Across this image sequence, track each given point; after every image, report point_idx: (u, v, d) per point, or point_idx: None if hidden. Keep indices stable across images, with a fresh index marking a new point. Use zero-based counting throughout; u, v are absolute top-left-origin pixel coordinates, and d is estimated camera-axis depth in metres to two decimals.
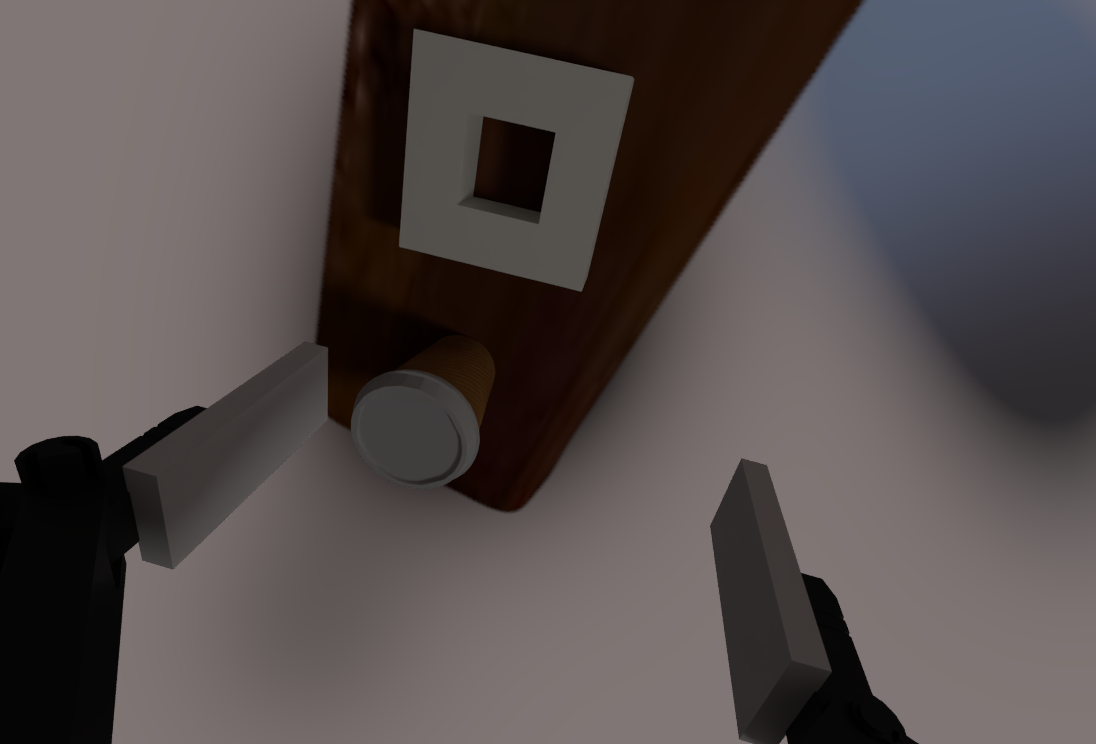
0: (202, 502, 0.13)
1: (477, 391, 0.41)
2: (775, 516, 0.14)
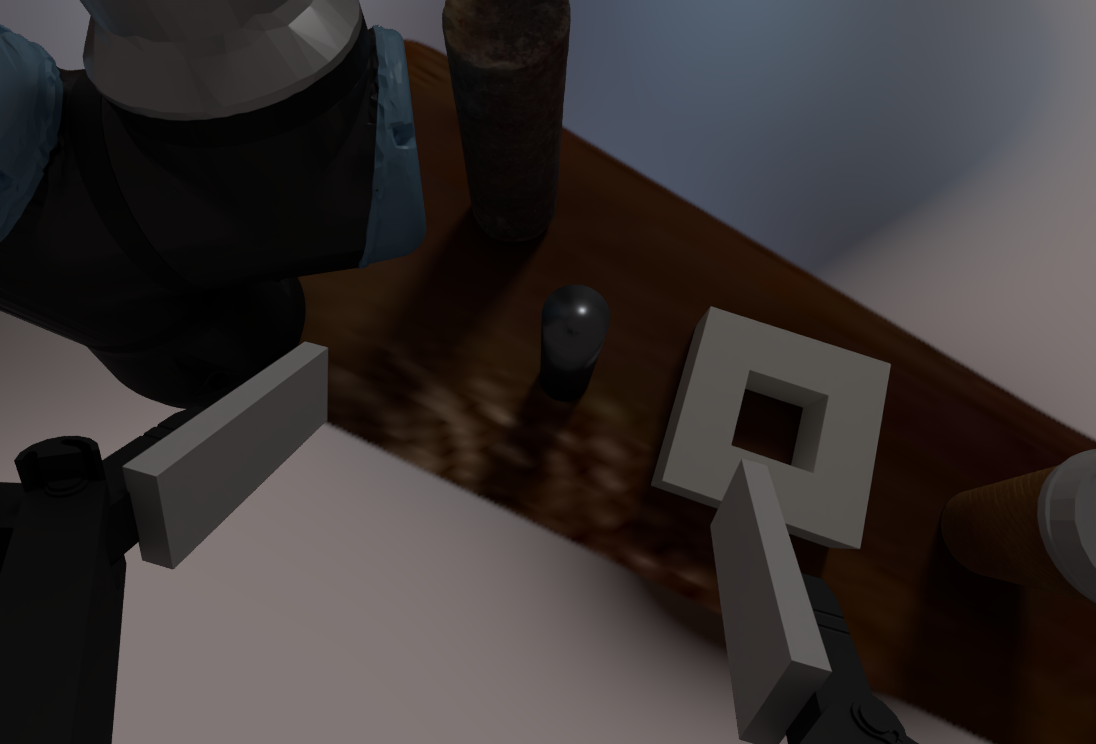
0: (202, 502, 0.13)
1: None
2: (775, 516, 0.14)
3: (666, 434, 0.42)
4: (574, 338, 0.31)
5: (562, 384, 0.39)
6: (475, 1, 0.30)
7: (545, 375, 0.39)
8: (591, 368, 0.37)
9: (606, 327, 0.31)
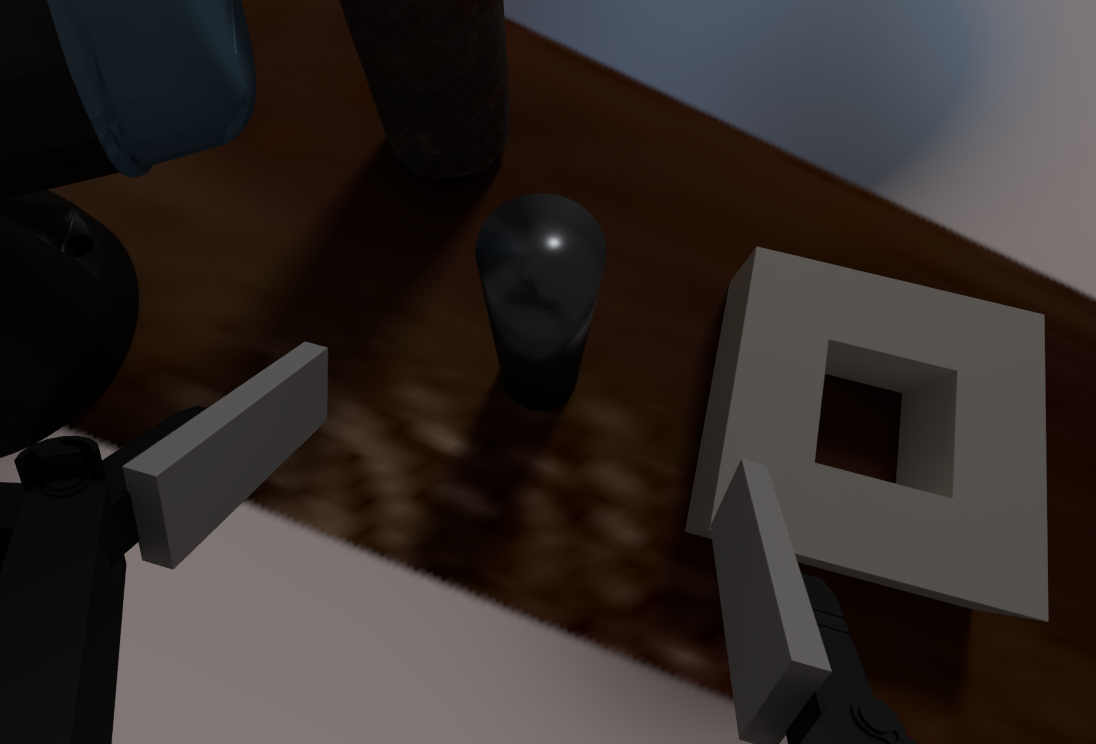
0: (202, 502, 0.13)
1: None
2: (775, 516, 0.14)
3: (702, 449, 0.27)
4: (540, 291, 0.16)
5: (533, 383, 0.23)
6: None
7: (505, 371, 0.24)
8: (578, 353, 0.22)
9: (600, 267, 0.16)
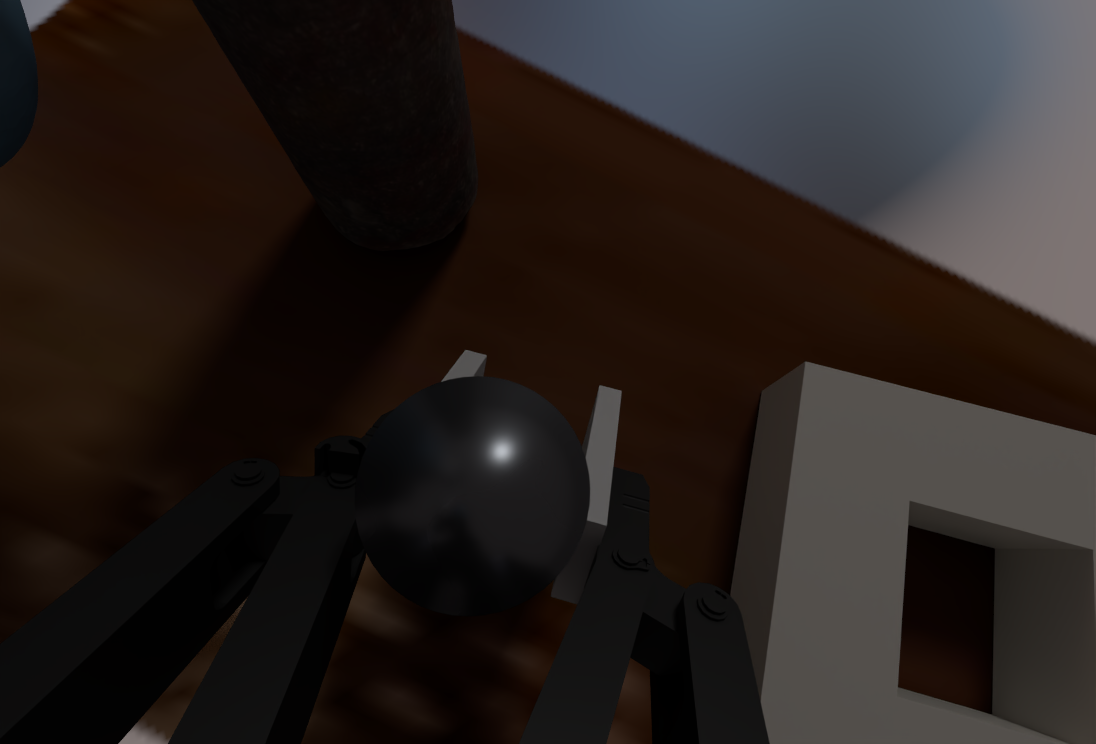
0: None
1: None
2: (610, 425, 0.16)
3: None
4: (468, 576, 0.09)
5: None
6: None
7: None
8: None
9: (579, 524, 0.09)
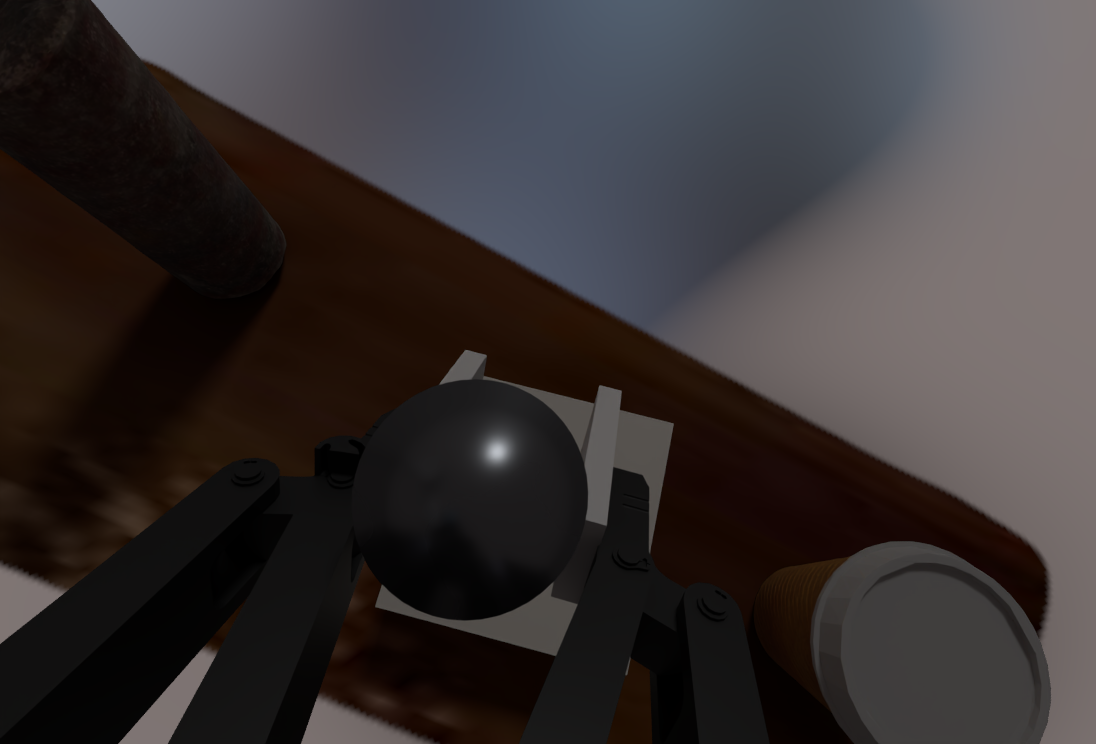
0: None
1: (833, 561, 0.28)
2: (610, 425, 0.16)
3: None
4: (465, 580, 0.09)
5: None
6: None
7: None
8: None
9: (577, 528, 0.09)
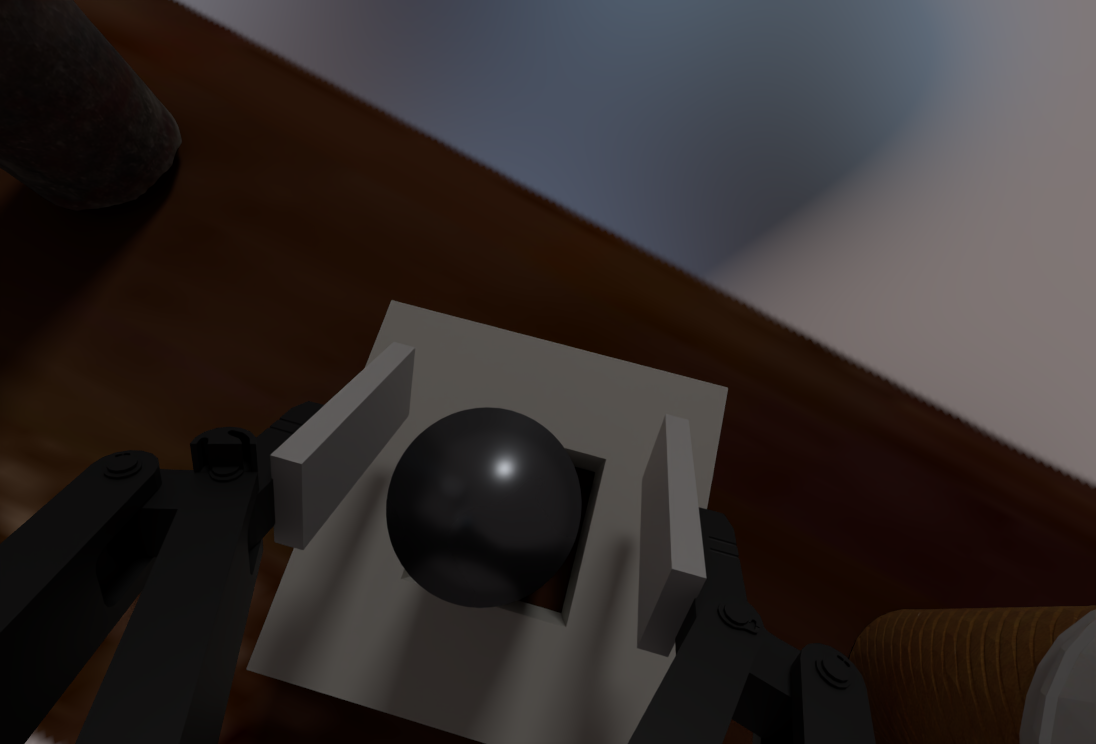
0: (326, 489, 0.14)
1: (1013, 615, 0.16)
2: (686, 460, 0.15)
3: None
4: (480, 575, 0.11)
5: None
6: None
7: None
8: None
9: (572, 531, 0.11)
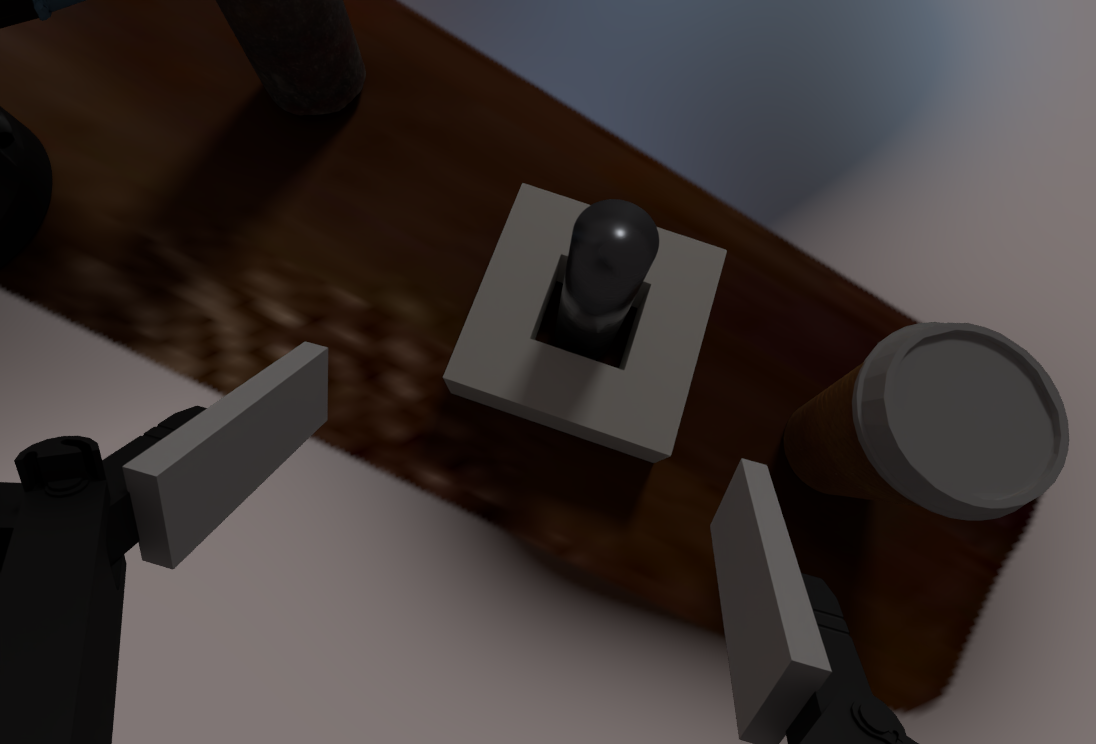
0: (202, 502, 0.13)
1: None
2: (775, 516, 0.14)
3: None
4: (614, 266, 0.24)
5: (586, 335, 0.32)
6: None
7: (565, 326, 0.32)
8: (624, 315, 0.30)
9: (654, 252, 0.25)
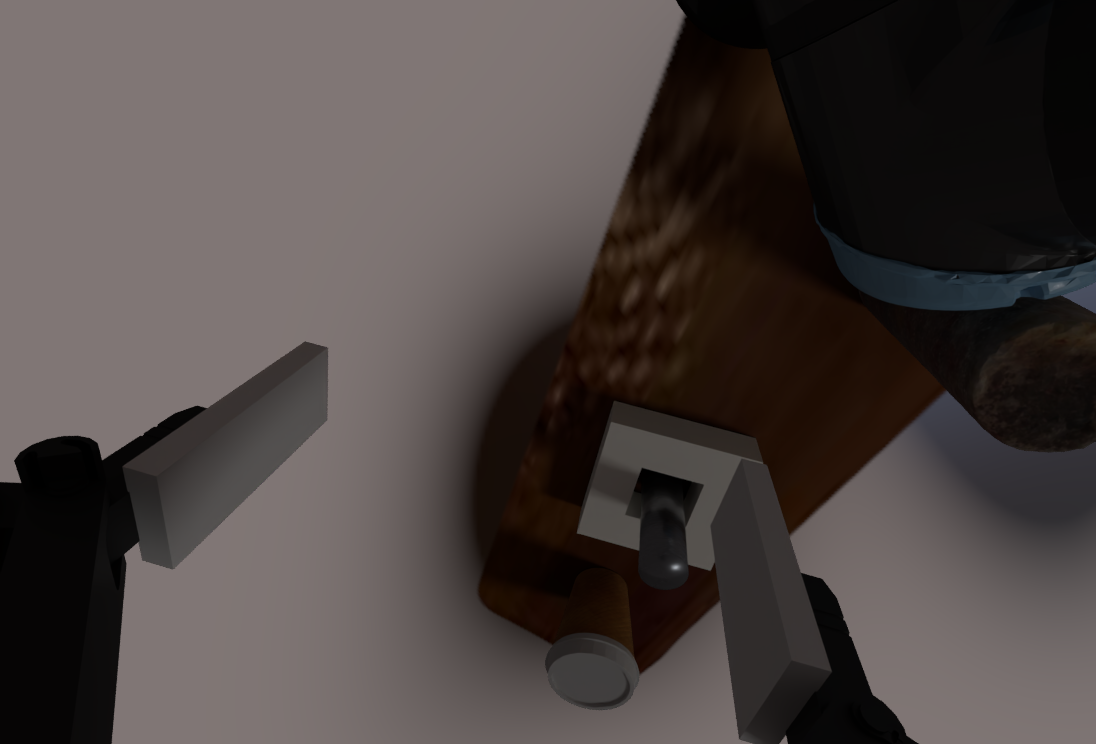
0: (202, 502, 0.13)
1: (630, 633, 0.57)
2: (775, 516, 0.14)
3: (654, 414, 0.52)
4: (645, 570, 0.45)
5: (641, 503, 0.51)
6: (1093, 355, 0.25)
7: (649, 489, 0.51)
8: None
9: (655, 587, 0.45)
